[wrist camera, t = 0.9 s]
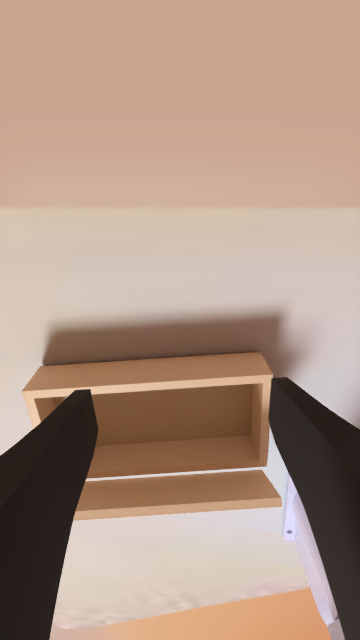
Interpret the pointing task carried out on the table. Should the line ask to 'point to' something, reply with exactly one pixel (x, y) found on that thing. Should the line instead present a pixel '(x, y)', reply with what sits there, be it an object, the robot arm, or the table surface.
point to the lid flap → (176, 495)
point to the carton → (166, 411)
